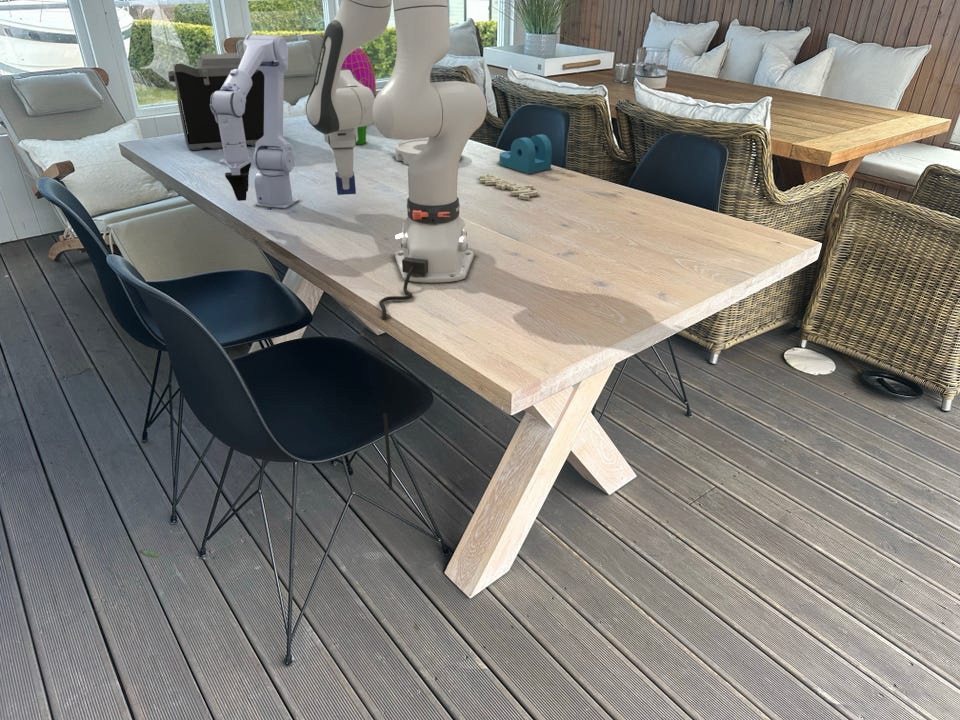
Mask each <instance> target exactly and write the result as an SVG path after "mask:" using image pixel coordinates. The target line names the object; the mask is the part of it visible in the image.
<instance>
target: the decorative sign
mask: <svg viewBox="0 0 960 720" xmlns="http://www.w3.org/2000/svg"><path fill="white" fill-rule="evenodd" d="M479 183H480V184H485V186H495V187H496V189H501V190H503V191H504V190H510V196H515V197H516V196H518V199H521V200H526V201H527V200H530V197H537V196H538V193H539V191H538V190H535V189H534V185H533V184H519V183H515V182H513V181H510V180H508V179H504V178H501V177H500V176H497V175H493V174H491V173H485V174H484V175H482V174H479Z"/></svg>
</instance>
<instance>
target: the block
mask: <svg viewBox="0 0 960 720" xmlns="http://www.w3.org/2000/svg"><path fill="white" fill-rule="evenodd" d="M334 176H335V186H336V194H337V196H342V195H357V189H356V188H357V187H356V175H355V172H354V171H353V176H352V177H351V178H349V187H350V188H349V189H343V185H342V178H340V177H339V175H338V171H335V172H334Z"/></svg>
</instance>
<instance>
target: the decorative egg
mask: <svg viewBox="0 0 960 720" xmlns="http://www.w3.org/2000/svg"><path fill="white" fill-rule="evenodd" d="M342 68H345V69H349V70H350V71H351V73H352V75H354V76H355V78H356V81H361V82H362V84H363V86H365V87H369V88H370V89H371V90H373V91H374V93H375V94H376V95H377V83H376V82H377V81H376V75H375V71H374V68H373V63H372V62H371V60H370V57H369V56H368V54H367V53H366V51H365V50H363V48H361V47H359V48H357V49H356V50H354V51H353V52H351V53H350V54H349V55H348V56H347V57H346V58H345V60H344V62H343V64H342ZM342 68H341V69H342Z"/></svg>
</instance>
